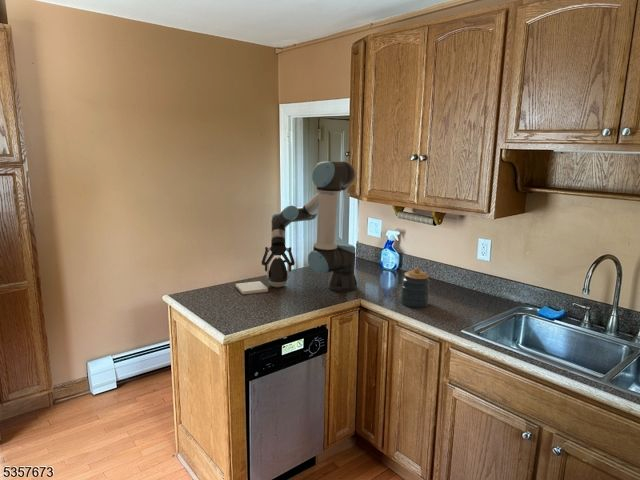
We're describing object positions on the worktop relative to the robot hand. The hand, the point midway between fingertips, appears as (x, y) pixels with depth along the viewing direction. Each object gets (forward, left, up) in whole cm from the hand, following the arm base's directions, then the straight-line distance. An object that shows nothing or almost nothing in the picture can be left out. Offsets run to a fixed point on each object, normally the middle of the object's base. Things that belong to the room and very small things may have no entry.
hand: (277, 276), depth 225 cm
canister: (-43, -53, -6) cm, 69 cm away
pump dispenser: (+3, -1, -6) cm, 7 cm away
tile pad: (+3, +13, -6) cm, 15 cm away
